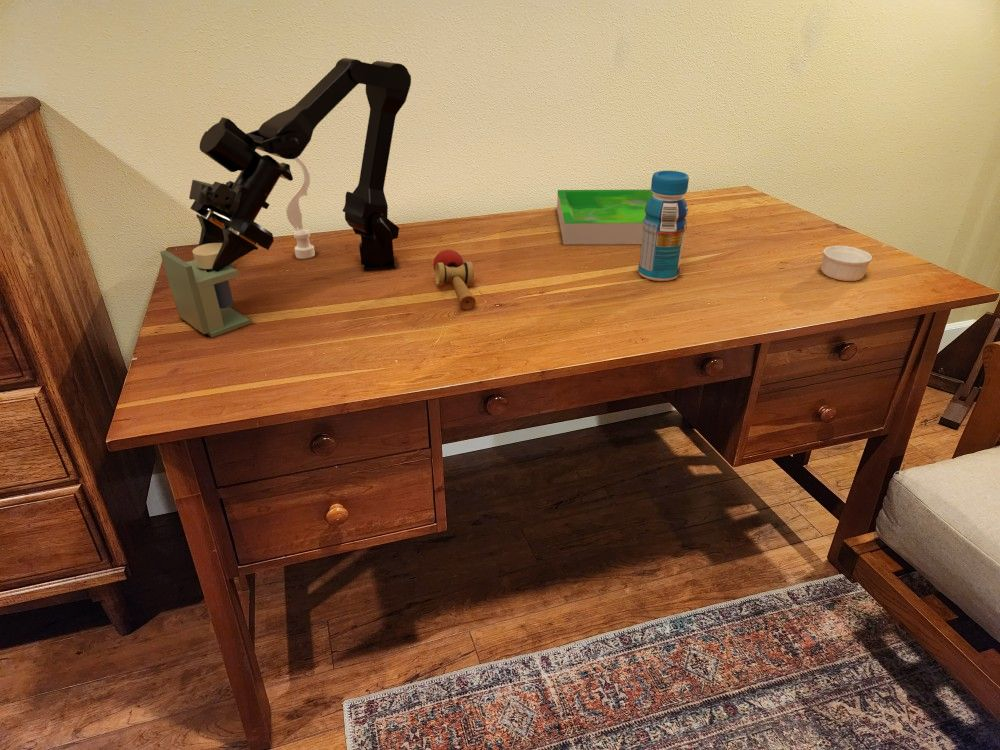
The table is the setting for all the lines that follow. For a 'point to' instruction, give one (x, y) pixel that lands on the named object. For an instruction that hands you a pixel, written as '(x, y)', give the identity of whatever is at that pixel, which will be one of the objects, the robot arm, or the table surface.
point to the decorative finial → (300, 218)
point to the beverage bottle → (664, 226)
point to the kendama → (455, 275)
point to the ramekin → (845, 262)
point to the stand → (201, 296)
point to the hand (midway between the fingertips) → (206, 265)
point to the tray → (602, 216)
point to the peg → (205, 260)
